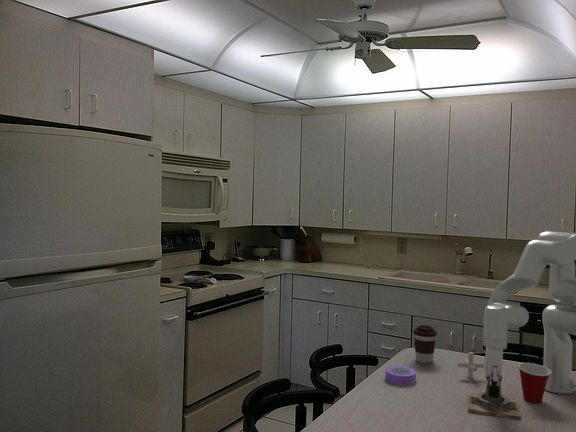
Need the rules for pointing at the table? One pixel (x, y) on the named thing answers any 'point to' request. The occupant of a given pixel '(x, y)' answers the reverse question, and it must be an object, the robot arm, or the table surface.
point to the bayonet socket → (493, 406)
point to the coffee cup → (424, 343)
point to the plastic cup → (533, 381)
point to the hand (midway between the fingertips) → (493, 394)
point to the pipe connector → (470, 365)
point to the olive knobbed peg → (488, 391)
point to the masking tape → (400, 375)
